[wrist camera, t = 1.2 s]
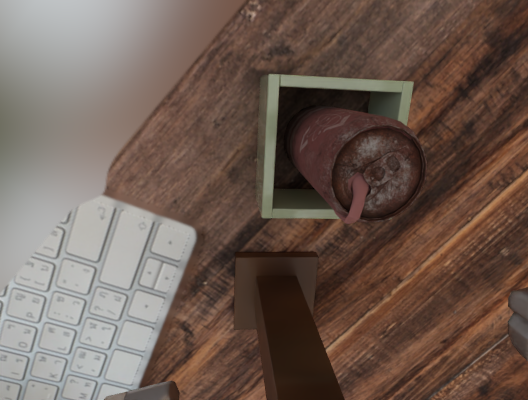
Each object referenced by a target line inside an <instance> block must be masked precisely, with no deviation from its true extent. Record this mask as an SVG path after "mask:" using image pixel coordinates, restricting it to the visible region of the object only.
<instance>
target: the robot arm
mask: <svg viewBox="0 0 528 400" xmlns="http://www.w3.org/2000/svg"><path fill="white" fill-rule="evenodd" d="M508 307H509V308H510V309H511V310H512V311H513V312H514V313H513V314H512V316H511V317H510V319H509V321H508V334H509V337H510V339H511V341H512V344H513V345H514V347H515V348H516V349H517V351H518V352H519V353H520V354H521V355H522V356H523V357H524V358H525V359H526V360H527V361H528V287H527V288H523V289H519V290H516V291H512V292H511V294H510V296H509V298H508ZM179 394H180V393H179V390H178V388H177V386H176V383H175V382H174V381H168V382H164V383H160V384H155V385H151V386H147V387H143V388H138V389H134V390H130V391H128V392H124V393H119V394H115V395H111V396H107V397H106V398H105V399H104V400H179Z"/></svg>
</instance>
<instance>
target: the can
mask: <svg viewBox="0 0 528 400" xmlns="http://www.w3.org/2000/svg"><path fill="white" fill-rule="evenodd" d="M284 148H285V151H286V154H287V157H288V158H289V160H290V161H291V162H292V164H293V165H294V166H295V167H296V168H297V170H298V171H299V172H300V173H301V174H302V175H303V176H304V177H305V178H306V180H307V181H308V182H309V183H310V184H311V185H312V186H313V187H314V188H315V190H316V191H317V192H318V193H319V194H320V195H321V196H322V197H323V198H324V200H325V201H326V202H327V203H328V204H329V205H330V206H331V207H332V209H333V210H334V212H335V214H336V215H337V216H338V217H339V218H340V219H341V220H342V221H344V222H345V223H347V224H349V223H354V222H356V221H358V222H379V221H385V220H388V219H391V218H393V217H396V216H398V215H399V214H401V213H402V212H404V211H405V210H406V209H408V208H409V207H410V206H411V205H412V204H413V202H414V201H415V200H416V199H417V197H418V196H419V195H420V193H421V190H422V188H423V185H424V183H425V181H426V173H427V161H426V156H425V151H424V149H423V148H422V145H421V143H420V141H419V140H418V138H417V137H416V135H415V133H414V132H413V131H412V130H411V129H410V128H408V127H407V126H406V125H405V124H403V123H402V122H401V121H398V120H395V119H391V118H388V117H385V116H380V115H374V114H369V113H364V112H358V111H353V110H348V109H342V108H337V107H331V106H326V105H313V106H311V107H308V108H305V109H303V110H301V111H300V112H299V113H298V114H296V115H295V116H294V117H293V118H292V120H291V121H290V123H289V124H288V126H287V129H286V132H285V136H284Z"/></svg>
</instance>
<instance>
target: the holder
mask: <svg viewBox="0 0 528 400" xmlns="http://www.w3.org/2000/svg"><path fill="white" fill-rule="evenodd" d="M413 83H414V82H410V81H391V80H373V79H355V78H337V77H318V76H300V75H282V74H281V75H279V74H267V75H264V76H261V77H260V96H259V120H258V144H257V167H256V191H255V196H256V200H257V203H258V207H259V210H260V213H261V217H262V218H310V219H340V218H339V217H338V216H337V215H336V214H335V212H334V210H333V209H332V207H331V206H330V205H329V204H328V203H327V202H326V201H325V200H324V198H323V197H322V196H321V195H320V194H319V193H318V192H317V191H316V190H315V189H274V171H275V154H276V137H277V119H278V102H279V87H288V88H308V89H328V90H347V91H367V92H370V99H369V107H368V113H369V114H374V115H380V116H385V117H388V118H391V119H395V120H398V121H401V122H402V123H403V124H405V125H406V126H407V121H408V115H409V108H410V102H411V96H412V90H413ZM391 219H392V218H391Z"/></svg>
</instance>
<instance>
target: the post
mask: <svg viewBox="0 0 528 400" xmlns="http://www.w3.org/2000/svg"><path fill="white" fill-rule="evenodd" d="M318 258H319V257H318V255H317V254H316V252H236V253H235V287H234V330H240V329H257V333H258V341H259V348H260V355H261V362H262V369H263V376H264V384H265V391H266V398H267V400H345V399H344V397H343V394H342V392H341V389H340V386H339V384H338V381H337V379H336V376H335V374H334V371H333V368H332V366H331V363H330V361H329V358H328V356H327V353H326V350H325V348H324V345H323V343H322V340H321V338H320V335H319V332H318V330H317V327H316V325H315V322H314V319H313V308H314V298H315V288H316V278H317V268H318Z"/></svg>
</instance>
